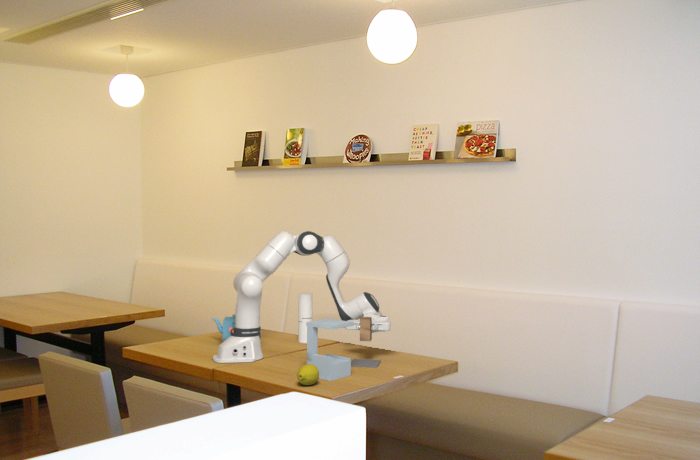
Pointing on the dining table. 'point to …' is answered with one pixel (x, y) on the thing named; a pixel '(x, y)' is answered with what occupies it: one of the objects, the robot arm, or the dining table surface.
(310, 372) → the lemon
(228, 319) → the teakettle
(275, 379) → the dining table surface
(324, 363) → the grey cantilever stand
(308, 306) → the cylindrical container
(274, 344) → the dining table surface
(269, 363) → the dining table surface
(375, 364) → the felt mat
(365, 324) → the walnut block
